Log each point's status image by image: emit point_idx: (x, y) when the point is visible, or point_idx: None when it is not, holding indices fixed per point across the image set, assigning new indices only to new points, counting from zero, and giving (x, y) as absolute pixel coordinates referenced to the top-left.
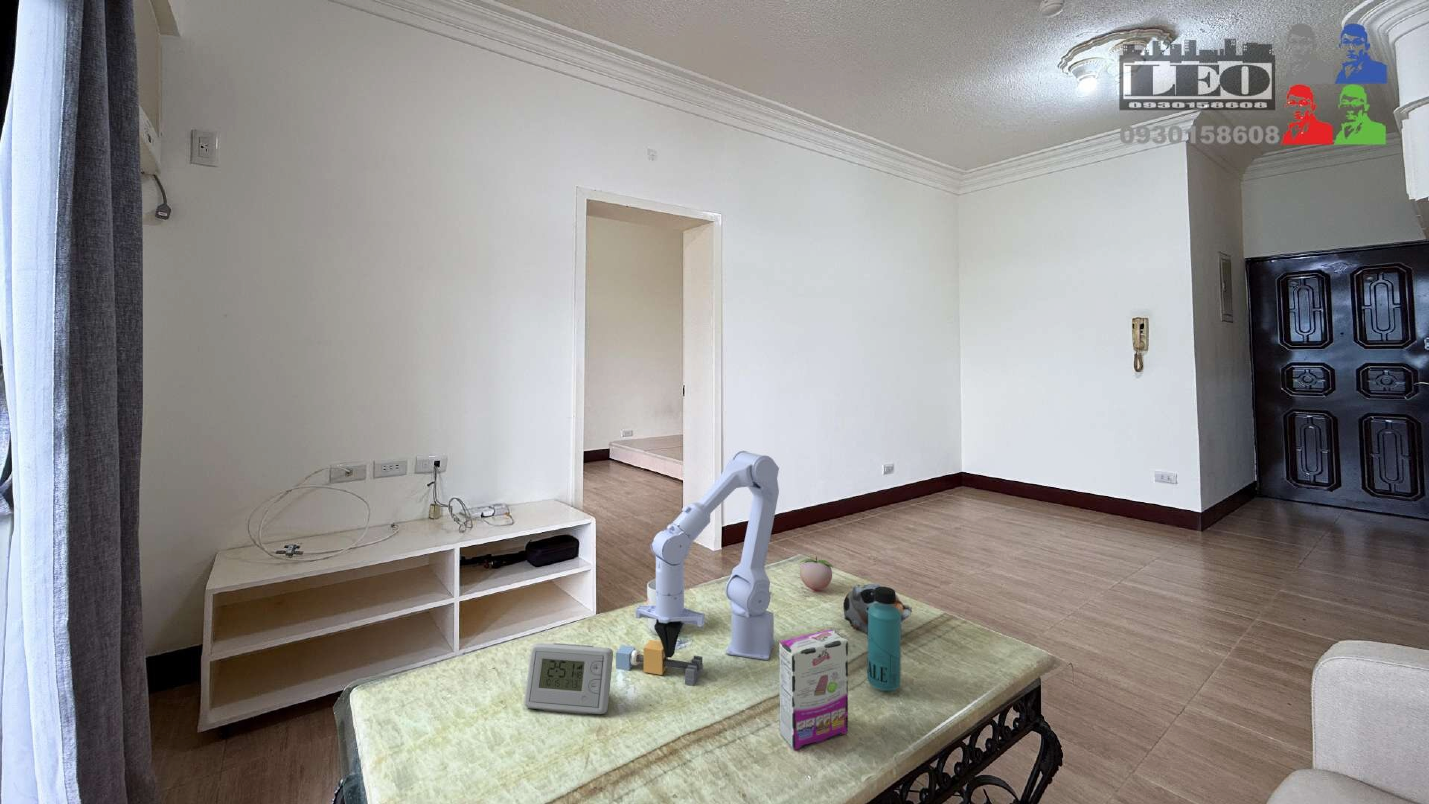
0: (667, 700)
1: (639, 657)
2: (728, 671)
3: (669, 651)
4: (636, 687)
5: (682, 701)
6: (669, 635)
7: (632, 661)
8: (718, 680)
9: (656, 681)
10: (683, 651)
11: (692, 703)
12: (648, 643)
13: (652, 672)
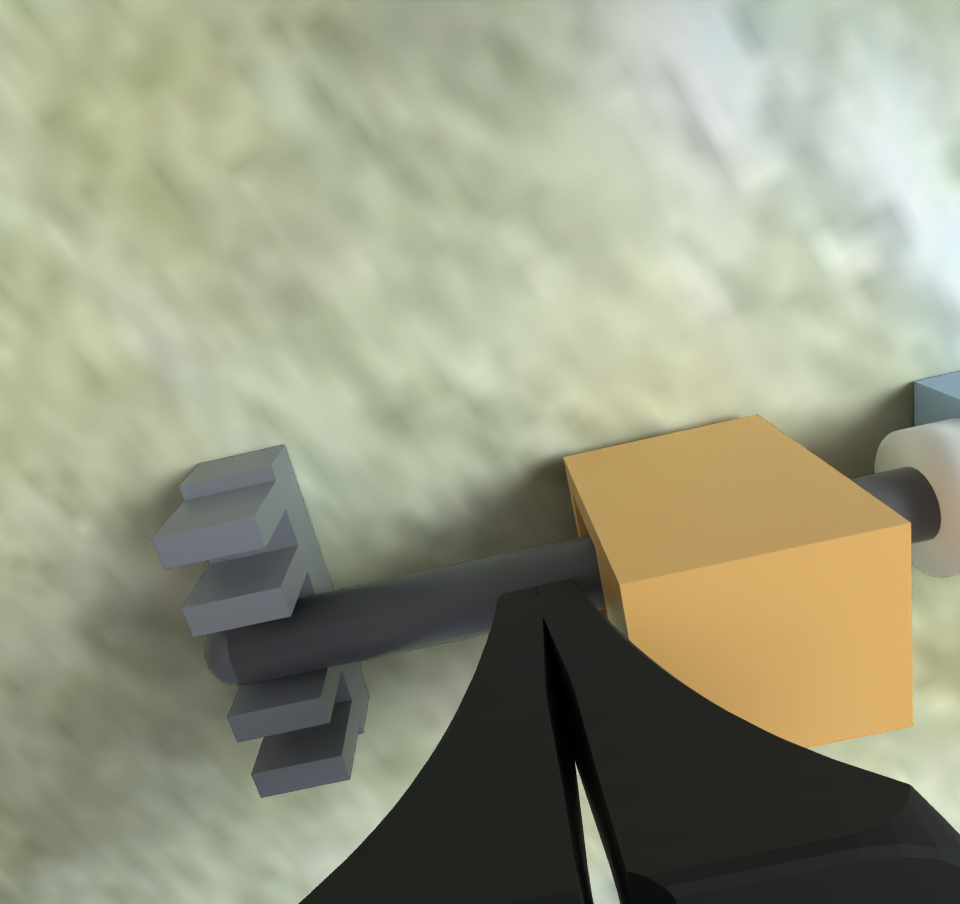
0: (263, 120)
1: (895, 498)
2: (87, 777)
3: (514, 625)
4: (693, 161)
5: (119, 186)
6: (501, 799)
7: (941, 427)
8: (67, 638)
9: (561, 357)
10: (596, 836)
11: (10, 207)
12: (894, 648)
13: (664, 437)
